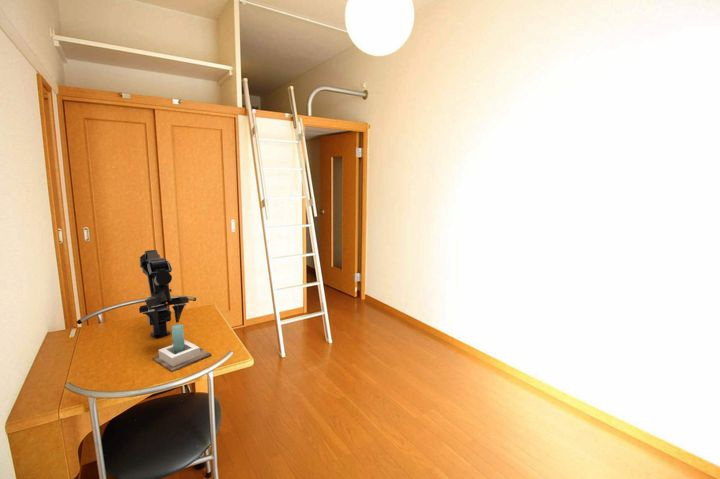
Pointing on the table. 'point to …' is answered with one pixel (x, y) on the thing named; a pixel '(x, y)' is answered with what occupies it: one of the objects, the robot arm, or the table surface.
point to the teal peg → (178, 338)
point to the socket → (179, 354)
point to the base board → (202, 356)
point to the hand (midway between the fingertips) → (167, 325)
